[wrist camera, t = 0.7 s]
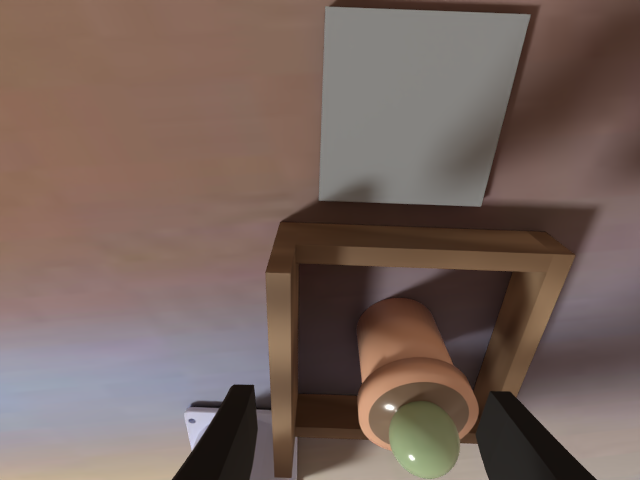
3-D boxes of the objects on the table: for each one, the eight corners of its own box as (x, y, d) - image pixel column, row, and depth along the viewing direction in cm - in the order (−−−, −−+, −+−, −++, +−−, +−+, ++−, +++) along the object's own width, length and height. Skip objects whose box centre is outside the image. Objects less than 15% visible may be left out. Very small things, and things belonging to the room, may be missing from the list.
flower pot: (431, 363, 23) (484, 512, 15) (347, 360, 23) (358, 508, 15) (448, 294, 20) (521, 431, 13) (354, 290, 20) (371, 426, 13)
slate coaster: (476, 202, 18) (480, 206, 17) (319, 196, 18) (318, 200, 17) (522, 16, 14) (530, 14, 14) (325, 8, 14) (325, 6, 14)
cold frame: (481, 410, 25) (515, 486, 20) (283, 402, 25) (274, 477, 20) (545, 231, 18) (615, 285, 14) (280, 221, 18) (265, 272, 14)
